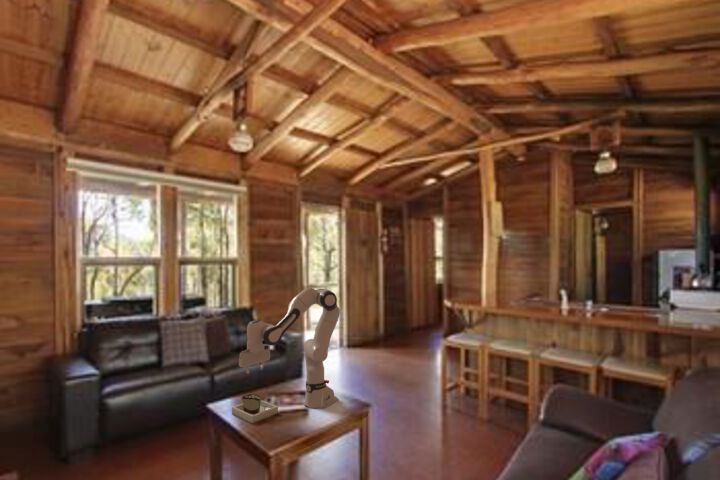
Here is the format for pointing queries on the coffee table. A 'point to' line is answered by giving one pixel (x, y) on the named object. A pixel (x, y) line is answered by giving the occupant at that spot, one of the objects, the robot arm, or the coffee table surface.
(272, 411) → the tray
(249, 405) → the food container
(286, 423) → the coffee table surface
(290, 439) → the coffee table surface
